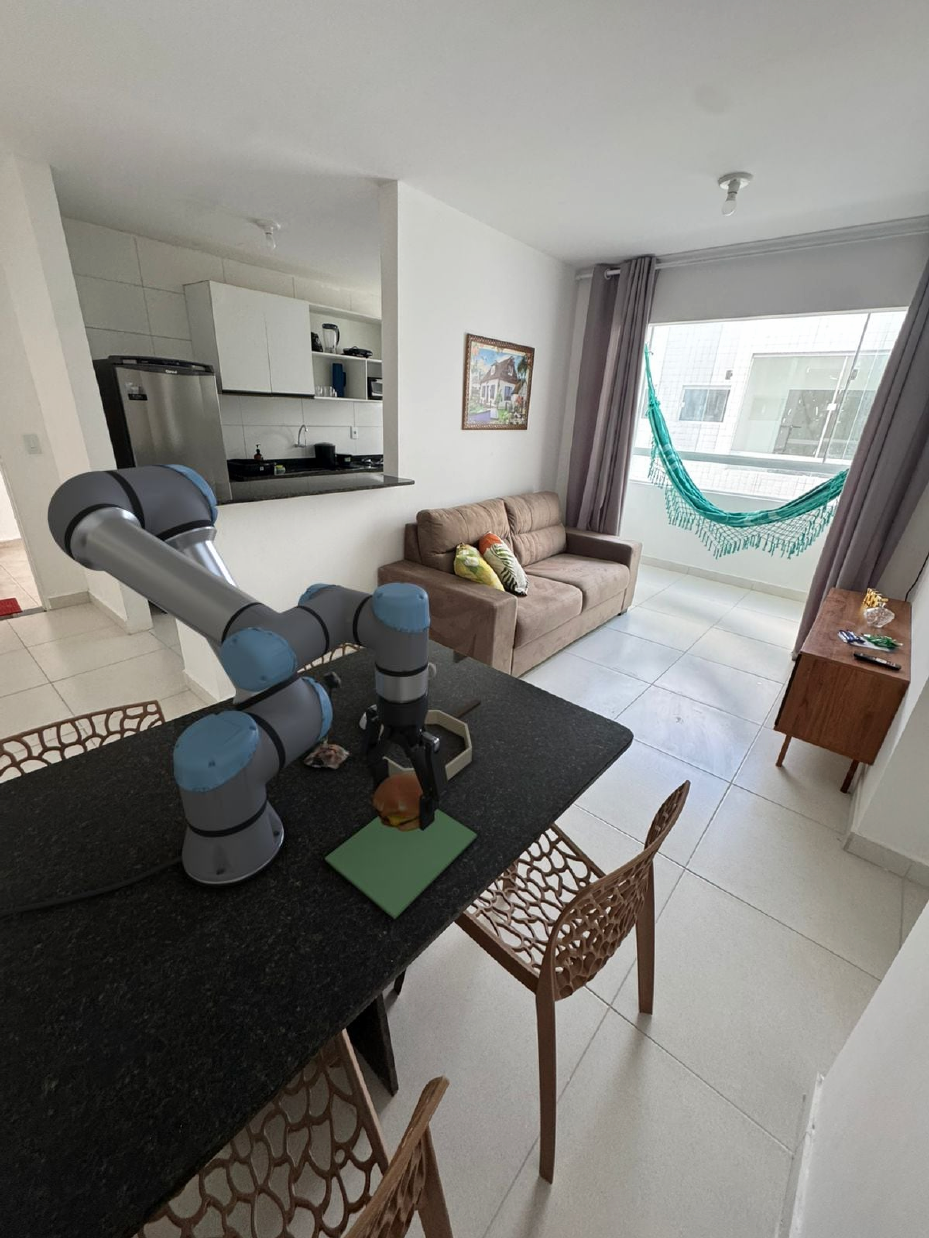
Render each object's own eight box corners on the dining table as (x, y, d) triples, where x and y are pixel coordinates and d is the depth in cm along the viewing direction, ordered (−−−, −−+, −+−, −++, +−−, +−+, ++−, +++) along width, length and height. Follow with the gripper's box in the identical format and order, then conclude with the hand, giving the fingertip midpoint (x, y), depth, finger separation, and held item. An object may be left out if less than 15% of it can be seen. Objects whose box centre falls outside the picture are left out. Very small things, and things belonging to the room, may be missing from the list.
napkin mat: (394, 919, 74) (394, 916, 74) (324, 860, 83) (324, 857, 83) (477, 836, 89) (477, 834, 89) (410, 793, 98) (410, 791, 98)
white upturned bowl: (357, 731, 115) (380, 732, 115) (357, 720, 114) (379, 721, 114) (362, 718, 119) (383, 719, 120) (361, 707, 118) (383, 708, 118)
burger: (421, 783, 88) (421, 761, 86) (442, 821, 81) (443, 798, 79) (365, 799, 84) (364, 777, 83) (382, 841, 77) (381, 818, 75)
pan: (425, 798, 97) (425, 784, 95) (354, 753, 108) (353, 739, 106) (512, 727, 119) (513, 715, 117) (446, 696, 130) (446, 684, 128)
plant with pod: (318, 737, 112) (311, 657, 104) (357, 756, 107) (353, 673, 99) (289, 757, 106) (279, 673, 98) (329, 778, 101) (322, 691, 93)
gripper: (479, 707, 70) (472, 829, 79) (369, 656, 82) (373, 767, 91) (444, 732, 65) (440, 860, 74) (332, 673, 77) (340, 789, 86)
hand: (403, 808), depth 83 cm, fingers closed on burger, 9 cm apart
